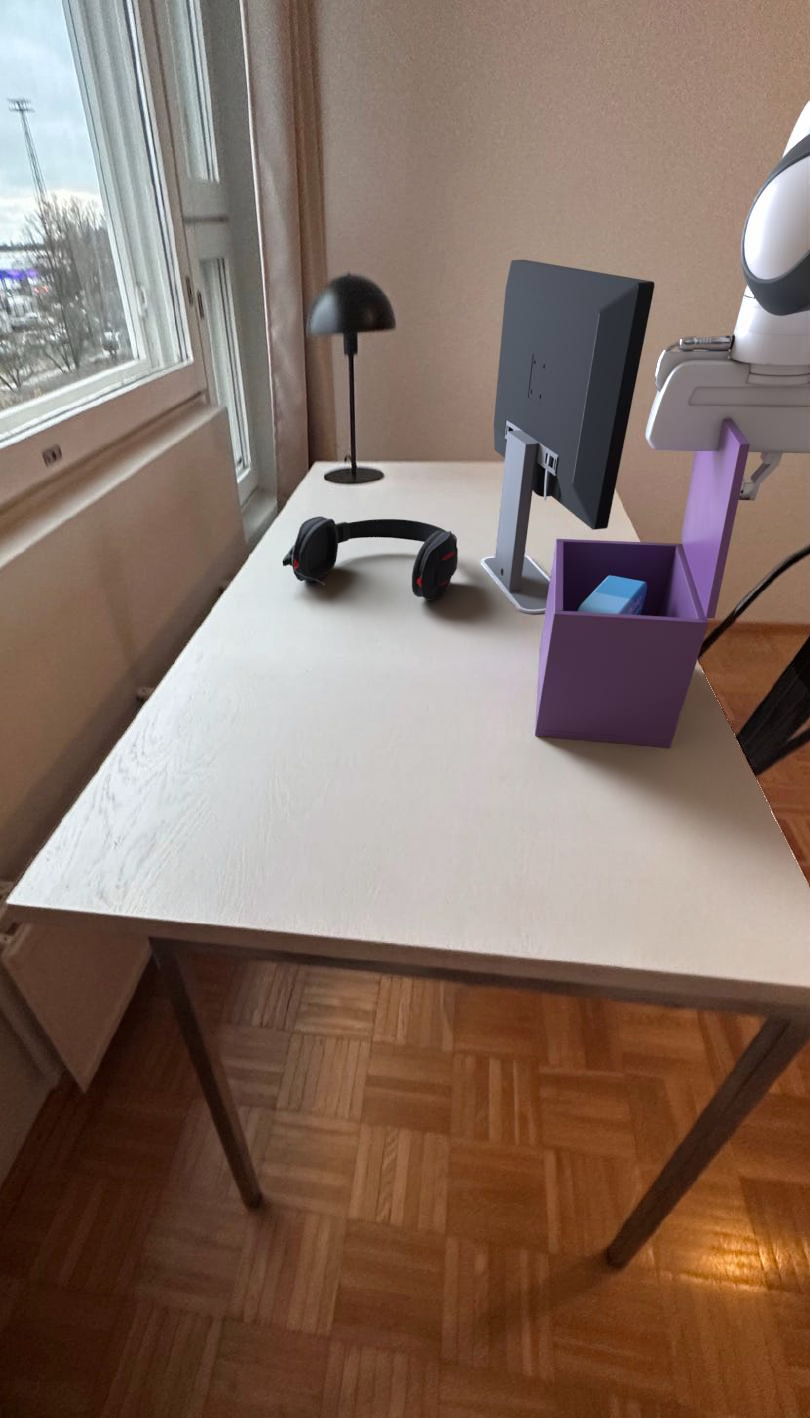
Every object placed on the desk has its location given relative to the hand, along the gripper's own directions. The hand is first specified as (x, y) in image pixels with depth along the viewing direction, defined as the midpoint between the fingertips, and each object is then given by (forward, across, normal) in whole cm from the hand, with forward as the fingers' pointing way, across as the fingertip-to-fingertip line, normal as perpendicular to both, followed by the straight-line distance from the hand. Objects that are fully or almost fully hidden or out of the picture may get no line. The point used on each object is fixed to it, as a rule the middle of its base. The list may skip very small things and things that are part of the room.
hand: (737, 498), depth 74 cm
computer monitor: (+24, -20, +33) cm, 45 cm away
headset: (+24, -44, +30) cm, 58 cm away
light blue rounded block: (+23, -10, 0) cm, 25 cm away
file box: (+23, -9, 0) cm, 25 cm away
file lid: (0, -3, 0) cm, 3 cm away
